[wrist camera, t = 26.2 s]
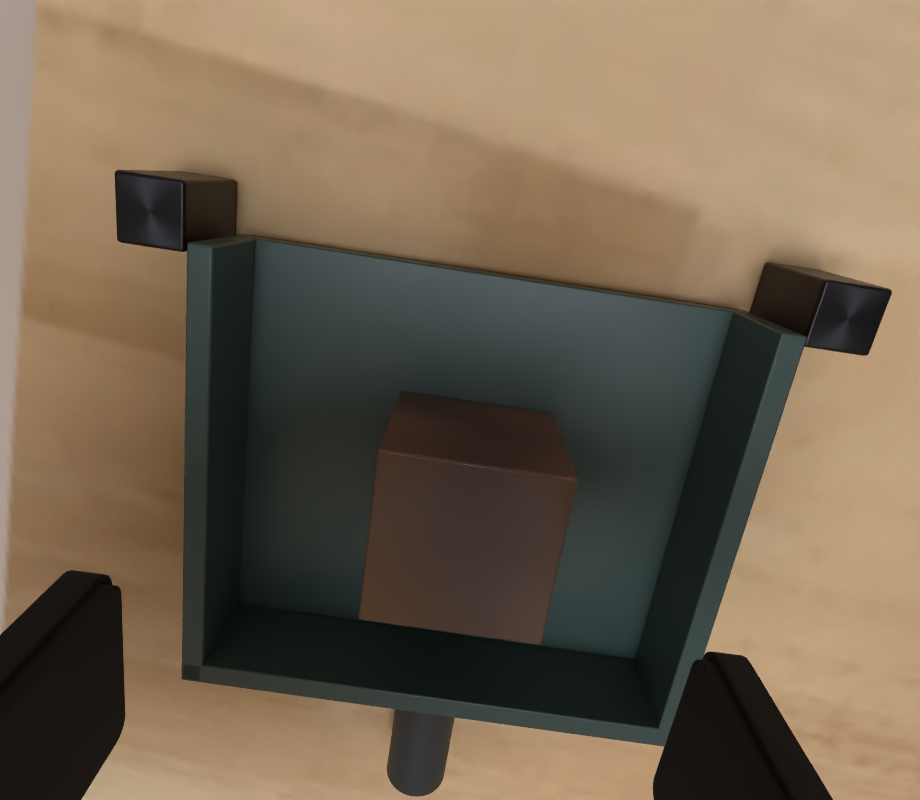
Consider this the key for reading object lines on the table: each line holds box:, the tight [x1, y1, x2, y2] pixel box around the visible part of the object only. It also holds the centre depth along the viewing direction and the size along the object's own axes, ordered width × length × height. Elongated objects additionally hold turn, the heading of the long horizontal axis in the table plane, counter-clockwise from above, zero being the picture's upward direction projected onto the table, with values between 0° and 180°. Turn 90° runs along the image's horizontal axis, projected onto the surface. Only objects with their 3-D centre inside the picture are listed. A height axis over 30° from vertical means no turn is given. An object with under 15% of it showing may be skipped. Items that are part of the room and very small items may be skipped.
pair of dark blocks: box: [115, 170, 892, 356], centre depth 16 cm, size 2×18×3 cm, turn 81°
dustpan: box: [182, 234, 807, 796], centre depth 18 cm, size 17×14×4 cm
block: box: [358, 391, 578, 645], centre depth 16 cm, size 4×4×4 cm
